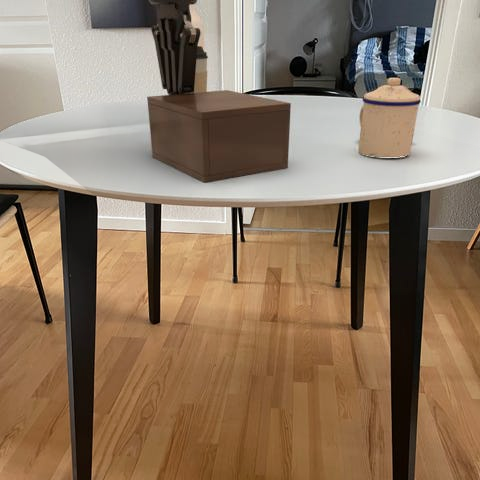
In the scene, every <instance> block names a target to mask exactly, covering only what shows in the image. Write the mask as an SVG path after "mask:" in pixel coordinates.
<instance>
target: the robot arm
mask: <svg viewBox="0 0 480 480" xmlns="http://www.w3.org/2000/svg"><path fill="white" fill-rule="evenodd" d="M148 2H149V3H150V4H151V5H157V7H158V8H157V25H152V26H151V28H150V29H151V35H152V37H153V41H154V46H155V51H156V56H157V63H158V64H157V65H158V69H159V75H160V81H161V87H162V89H163V90H166V93H167V95H174V94H186V93H193V92H194V86H195V73H196V60H197V47H198V42H199V38H200V34H201V33H200V29H199V28H194V27H193V26H192V24H191V14H190V8H189V5H190V4H194V5H196V4H197V2H198V0H148Z"/></svg>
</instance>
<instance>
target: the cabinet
mask: <svg viewBox="0 0 480 480" xmlns="http://www.w3.org/2000/svg"><path fill="white" fill-rule="evenodd" d="M146 100H147V111H148V121H149V132H150V133H149V135H150V143H151V154H152V158H154V159H156V160H157V161H160V162H162V163H163V164H166V165H168V166H170V167H171V168H174V169H176V170H178V171H180V172H182V173H184V174H186V175H189V176H191V177H192V178H194V179H197V180H199V181H201V182H203V183H209V182H210V183H211V182H215V181H216V182H217V181H222V180H227V179H233V178H238V177H244V176H249V175H254V174H261V173H266V172H271V171H276V170H277V171H279V170H284V169H288V168H289V150H290V128H291V127H290V126H291V109H292V107H291V106H292V103H290V102H287V101H283V100H277V99H272V98H267V97H263V96H257V95H253V94H248V93H243V92H238V91H232V90H228V89H225V90H224V89H223V90H212V91H207V92H198V93H186V94H174V95H168V94H163V95H162V94H161V95H152V96H147V97H146Z"/></svg>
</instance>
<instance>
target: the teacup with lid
mask: <svg viewBox="0 0 480 480" xmlns="http://www.w3.org/2000/svg"><path fill="white" fill-rule="evenodd" d="M401 81H402V80H401V78H399V77H389V78H387V84H384V85H381V86H379V87H377V88H376V89H375V90H373V91H370V92H366V93H365V94H364V95H363V98H362V102H363V106H361V108H360V111H359V125H360V133H359V139H358V149H357V151H358V153H359V152H360V153H361V154H364V155H368V156H374V157H400V156H406V155H408V154H409V155H410V154H411V150H412V145H413V139H414V134H415V128H416V123H417V117H418V109H419V104H421V102H422V100H421V96H420V95H419V94H417V93H414V92H412V91H410V90H409V88H407V86H404V85H401ZM360 153H359V154H360ZM361 154H360V155H361ZM364 155H363V156H364ZM409 155H408V156H409Z"/></svg>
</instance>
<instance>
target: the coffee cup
mask: <svg viewBox="0 0 480 480" xmlns="http://www.w3.org/2000/svg"><path fill="white" fill-rule="evenodd" d="M208 59H209V57H208V52H206V51H205V49H204V50H203V48H202V46H198V47H197V60H196V73H195V86H194V92H193V93H198V92H208V91H207V90H208V69H207V68H208Z"/></svg>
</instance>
